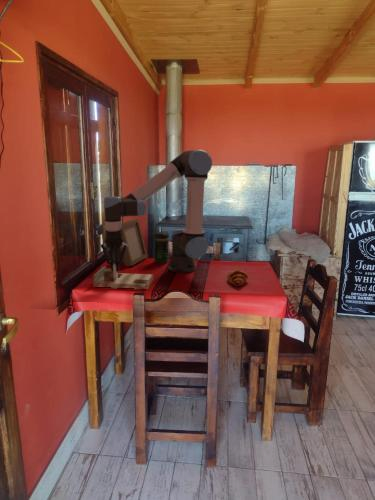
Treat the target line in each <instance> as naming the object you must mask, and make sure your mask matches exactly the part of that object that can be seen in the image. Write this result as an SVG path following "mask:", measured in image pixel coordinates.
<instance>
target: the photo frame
mask: <svg viewBox="0 0 375 500" xmlns="http://www.w3.org/2000/svg"><path fill="white" fill-rule="evenodd" d="M121 227H122V228H121V229H120V230H121V231H122V240H123V243H125V244H128V246H127V248H126V251H125V255H124V260H123V264H124V267H125V266H127V267H132V266H134V265H136V264H138V263H139V262H141V261H143V260H144V259H146V258H148V253H147V249H146V244H145V240H144V236H143V232H142V227H141V225H140V220H139V218H134V219H130V220H127V221H124V222H121ZM122 249H123V248H122V245H121V247H120V248H119V261H120V257H121V252H122ZM114 261H115V262H116V260H115V254H114Z"/></svg>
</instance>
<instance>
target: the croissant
mask: <svg viewBox="0 0 375 500" xmlns="http://www.w3.org/2000/svg"><path fill="white" fill-rule="evenodd" d="M248 277H249V276H248V274H247V273H246V272H245V271H243V270H241V269H236V268H235V269H231V270H230V271H229V272H228V273H227V277H226V279H227V281H228V282H229V283H230V284H232V285H233V286H235V287H241V286H243V285H244V284H245V283H246V282H247V280H248Z"/></svg>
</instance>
